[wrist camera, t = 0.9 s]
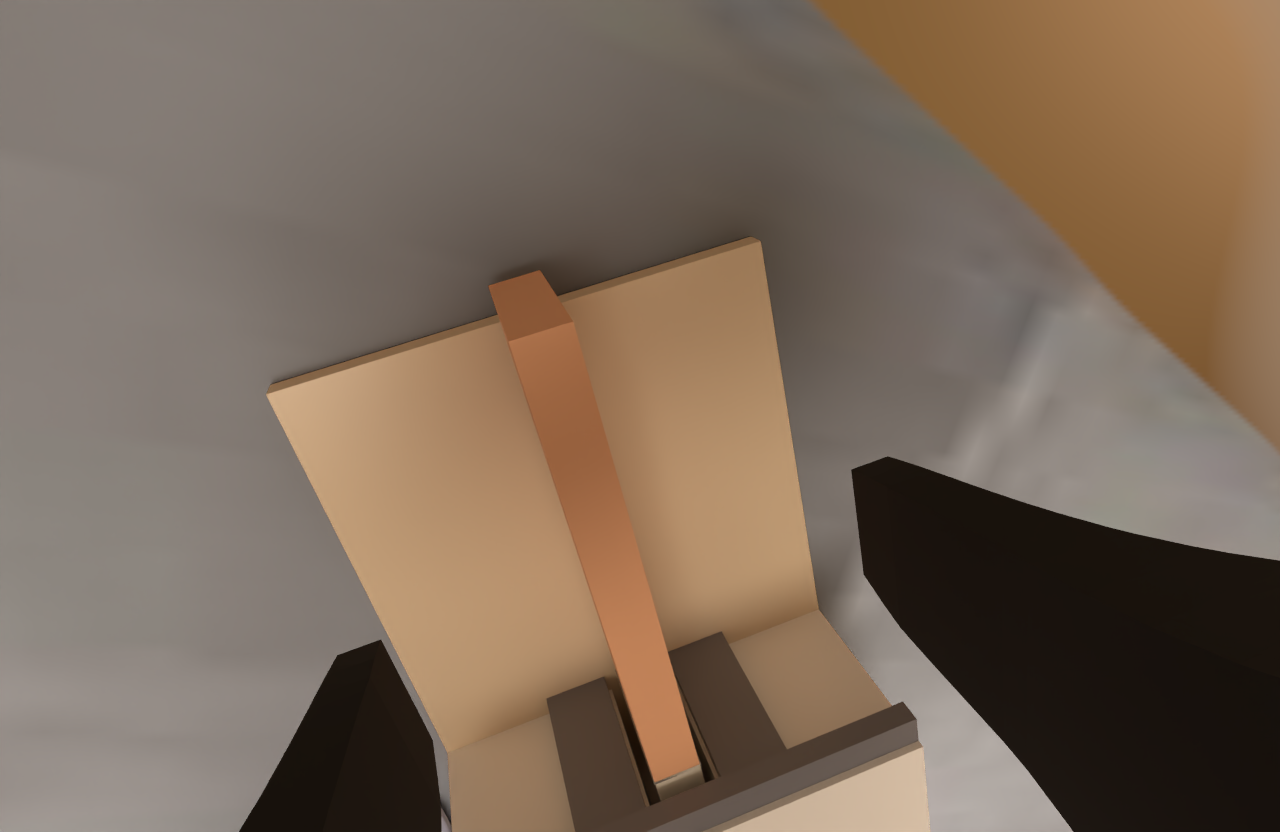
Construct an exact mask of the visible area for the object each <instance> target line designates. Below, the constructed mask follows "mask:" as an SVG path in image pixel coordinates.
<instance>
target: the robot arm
mask: <svg viewBox="0 0 1280 832" xmlns="http://www.w3.org/2000/svg"><path fill="white" fill-rule="evenodd" d="M851 471H852V479H853V488H854V496H855V505H856V513H857V521H858V530H859V538H860V547H861V555H862V564H863V572H864V576H865V577H866V579H867V580H868V582H869V583H870V584H871V586H872V587H873V589H874V590H875V592H876V593H877V595H878V596H879V598H880V599H881V601H882V602H883V604H884V605H885V607H886V608H887V609H888V611H889V612H890V614H891V615H892V616H893V618H894V619H895V621H896V622H897V623H898V625H899V626H900V628H901V629H902V630H903V631H904V632H905V633H906V634H907V636H908V637H909V638H910V639H911V640H912V641H913V642H914V644H915V645H916V646H917V647H918V648H919V649H920V650H921V651H922V652H923V654H924V655H925V656H926V657H927V658H928V659H929V660H930V661H931V662H932V664H933V665H934V666H935V667H936V668H937V669H938V670H939V671H940V672H941V674H942V675H943V676H944V677H945V678H946V679H947V680H948V681H949V682H950V683H951V684H952V686H953V687H954V688H955V689H956V690H957V691H958V692H959V693H960V694H961V695H962V697H963V698H964V699H965V700H966V701H967V702H968V703H969V704H970V705H971V706H972V708H973V709H974V710H975V711H976V712H977V713H978V714H979V715H980V716H981V717H982V719H983V720H984V721H985V722H986V723H987V724H988V725H989V726H990V727H991V728H992V729H993V731H994V732H995V733H996V734H997V735H998V736H999V737H1000V738H1001V739H1002V740H1003V742H1004V743H1005V744H1006V745H1007V746H1008V747H1009V749H1010V750H1011V751H1012V752H1013V753H1014V755H1015V756H1016V757H1017V758H1018V759H1019V761H1020V762H1021V763H1022V764H1023V765H1024V766H1025V768H1026V769H1027V770H1028V771H1029V773H1030V774H1031V775H1032V777H1033V778H1034V779H1035V781H1036V782H1037V783H1038V785H1039V786H1040V787H1041V789H1042V790H1043V791H1044V793H1045V794H1046V795H1047V797H1048V798H1049V799H1050V801H1051V802H1052V803H1053V805H1054V806H1055V807H1056V809H1057V810H1058V811H1059V813H1060V814H1061V815H1062V817H1063V818H1064V819H1065V821H1066V822H1067V823H1068V825H1069V826H1070V827H1071V829H1072V830H1073V831H1074V832H1280V561H1278V560H1271V559H1265V558H1258V557H1252V556H1245V555H1239V554H1232V553H1226V552H1221V551H1215V550H1210V549H1204V548H1199V547H1193V546H1188V545H1184V544H1179V543H1175V542H1170V541H1165V540H1161V539H1156V538H1152V537H1147V536H1142V535H1138V534H1133V533H1129V532H1125V531H1121V530H1117V529H1113V528H1109V527H1105V526H1102V525H1098V524H1095V523H1091V522H1088V521H1084V520H1080V519H1077V518H1073V517H1070V516H1066V515H1063V514H1059V513H1056V512H1053V511H1049V510H1046V509H1043V508H1040V507H1036V506H1033V505H1030V504H1027V503H1024V502H1021V501H1018V500H1015V499H1012V498H1009V497H1006V496H1003V495H1000V494H997V493H994V492H991V491H988V490H985V489H982V488H979V487H976V486H973V485H971V484H968V483H965V482H962V481H959V480H956V479H954V478H951V477H948V476H945V475H942V474H939V473H937V472H934V471H931V470H928V469H925V468H922V467H919V466H916V465H913V464H911V463H907V462H904V461H901V460H898V459H894V458H891V457H885V458H882V459H879V460H877V461H874V462H871V463H868V464H866V465H863V466H860V467H857V468H855V469H852V470H851ZM239 832H452V826H451V824H450V822H449V820H448V818H447V817H446V815H445V813H444V811H443V809H442V808H441V803H440V794H439V785H438V777H437V769H436V762H435V755H434V747H433V740H432V738H431V736H430V734H429V732H428V730H427V728H426V726H425V724H424V722H423V720H422V718H421V717H420V715H419V713H418V711H417V709H416V707H415V705H414V703H413V701H412V699H411V697H410V695H409V693H408V691H407V689H406V687H405V685H404V684H403V682H402V680H401V678H400V676H399V674H398V672H397V670H396V668H395V666H394V664H393V662H392V660H391V658H390V656H389V654H388V652H387V650H386V649H385V647H384V645H383V643H382V641H381V640H379V641H376V642H373V643H370V644H367V645H365V646H362V647H359V648H356V649H354V650H351V651H348V652H345V653H343V654H340V655H337V657H336V659H335V661H334V662H333V664H332V666H331V668H330V670H329V671H328V673H327V675H326V677H325V679H324V680H323V682H322V684H321V686H320V688H319V690H318V692H317V694H316V695H315V697H314V699H313V701H312V703H311V705H310V707H309V709H308V711H307V713H306V714H305V716H304V718H303V720H302V722H301V724H300V726H299V728H298V730H297V731H296V733H295V735H294V737H293V739H292V741H291V743H290V744H289V746H288V748H287V750H286V752H285V753H284V755H283V757H282V759H281V761H280V762H279V764H278V766H277V768H276V770H275V771H274V773H273V775H272V777H271V779H270V780H269V782H268V784H267V786H266V788H265V789H264V791H263V793H262V795H261V796H260V798H259V800H258V801H257V803H256V805H255V806H254V808H253V810H252V811H251V813H250V815H249V816H248V818H247V819H246V821H245V823H244V824H243V826H242V828H241V829H240V831H239Z"/></svg>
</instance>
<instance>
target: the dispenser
mask: <svg viewBox="0 0 1280 832" xmlns="http://www.w3.org/2000/svg"><path fill="white" fill-rule="evenodd" d="M557 297H558V299H559V300H560V302H561V303H562V305H563V306H564V308H565V309H566V311H567V313H568V314H569V316H570V317H571V319H572V320H573V322H574V326H575V329H576V333H577V336H578V340H579V343H580V347H581V350H582V354H583V357H584V361H585V364H586V368H587V371H588V375H589V378H590V382H591V385H592V389H593V392H594V396H595V399H596V403H597V406H598V410H599V413H600V417H601V420H602V424H603V427H604V431H605V434H606V438H607V441H608V445H609V448H610V452H611V455H612V459H613V462H614V466H615V469H616V473H617V476H618V480H619V483H620V487H621V490H622V494H623V497H624V501H625V504H626V508H627V511H628V515H629V518H630V522H631V525H632V529H633V532H634V536H635V539H636V543H637V546H638V550H639V553H640V557H641V560H642V564H643V567H644V571H645V574H646V578H647V581H648V585H649V588H650V592H651V595H652V599H653V602H654V606H655V609H656V613H657V616H658V619H659V623H660V626H661V630H662V633H663V637H664V640H665V644H666V647H667V651H668V654H669V658H670V661H671V665H672V668H673V672H674V675H675V679H676V682H677V686H678V689H679V693H680V696H681V700H682V703H683V707H684V710H685V714H686V717H687V721H688V724H689V728H690V731H691V735H692V738H693V742H694V745H695V749H696V752H697V755H698V757H699V760H700V762H701V770H702V773H703V777H704V780H705V783H704V784H702V785H699V786H697V787H694V788H692V789H690V790H687V791H685V792H682V793H680V794H678V795H675V796H673V797H670V798H668V799H665V800H663V801H661V802H660V801H659V798H658V795H657V792H656V789H655V786H654V783H653V780H652V777H651V774H650V771H649V768H648V765H647V762H646V759H645V757H644V754H643V751H642V748H641V745H640V742H639V739H638V736H637V733H636V730H635V727H634V724H633V721H632V719H631V716H630V713H629V710H628V707H627V704H626V701H625V698H624V695H623V692H622V689H621V686H620V683H619V681H618V678H617V675H616V672H615V669H616V668H615V665H614V662H613V659H612V656H611V653H610V650H609V647H608V644H607V641H606V638H605V635H604V632H603V629H602V626H601V623H600V620H599V617H598V614H597V611H596V608H595V605H594V602H593V599H592V596H591V593H590V590H589V587H588V584H587V581H586V578H585V575H584V572H583V569H582V566H581V563H580V560H579V557H578V554H577V551H576V548H575V545H574V542H573V539H572V536H571V533H570V530H569V527H568V524H567V521H566V518H565V515H564V512H563V509H562V506H561V503H560V500H559V497H558V494H557V491H556V488H555V485H554V482H553V479H552V476H551V473H550V470H549V467H548V464H547V461H546V458H545V455H544V452H543V449H542V446H541V443H540V440H539V437H538V434H537V431H536V428H535V425H534V422H533V419H532V416H531V413H530V410H529V407H528V404H527V401H526V398H525V395H524V392H523V389H522V386H521V383H520V380H519V377H518V374H517V371H516V368H515V365H514V362H513V359H512V356H511V353H510V350H509V347H508V344H507V341H506V338H505V335H504V332H503V329H502V326H501V323H500V320H499V317H498V315H495V316H492V317H488V318H485V319H482V320H479V321H475V322H472V323H469V324H466V325H462V326H459V327H456V328H453V329H450V330H446V331H443V332H440V333H437V334H433V335H430V336H427V337H424V338H420V339H417V340H414V341H411V342H407V343H404V344H401V345H398V346H394V347H391V348H388V349H385V350H381V351H378V352H375V353H372V354H369V355H365V356H362V357H359V358H356V359H352V360H349V361H346V362H343V363H339V364H336V365H333V366H330V367H326V368H323V369H320V370H317V371H313V372H310V373H307V374H304V375H301V376H297V377H294V378H291V379H288V380H284V381H281V382H278V383H275V384H271V385H270V387H269V389H268V391H267V394H266V395H267V397H268V399H269V401H270V403H271V405H272V407H273V409H274V411H275V413H276V415H277V417H278V419H279V421H280V423H281V425H282V427H283V429H284V431H285V433H286V435H287V437H288V439H289V441H290V443H291V445H292V447H293V449H294V451H295V453H296V455H297V457H298V459H299V461H300V463H301V464H302V466H303V468H304V470H305V472H306V474H307V476H308V478H309V480H310V482H311V484H312V486H313V488H314V490H315V492H316V494H317V496H318V498H319V500H320V502H321V504H322V506H323V508H324V510H325V512H326V514H327V516H328V518H329V520H330V522H331V524H332V526H333V528H334V530H335V532H336V534H337V536H338V538H339V539H340V541H341V543H342V545H343V547H344V549H345V551H346V553H347V555H348V557H349V559H350V561H351V563H352V565H353V567H354V569H355V571H356V573H357V575H358V577H359V579H360V581H361V583H362V585H363V587H364V589H365V591H366V593H367V595H368V597H369V599H370V601H371V603H372V605H373V607H374V609H375V611H376V613H377V614H378V616H379V618H380V620H381V622H382V624H383V626H384V628H385V630H386V632H387V634H388V636H389V638H390V640H391V642H392V644H393V646H394V648H395V650H396V652H397V654H398V656H399V658H400V660H401V662H402V664H403V666H404V668H405V670H406V672H407V674H408V676H409V678H410V680H411V682H412V684H413V686H414V688H415V690H416V691H417V693H418V695H419V697H420V699H421V701H422V703H423V705H424V707H425V709H426V711H427V713H428V715H429V717H430V719H431V721H432V723H433V725H434V727H435V729H436V731H437V733H438V735H439V737H440V739H441V741H442V743H443V745H444V747H445V749H446V751H447V753H448V769H449V787H450V805H451V823H452V832H930V823H929V811H928V800H927V788H926V776H925V764H924V752H923V746H922V745H921V743H920V742H919V741H918V731H917V719H916V718H915V717H914V715H913V714H912V713H911V711H910V710H909V709H908V708H907V706H906V705H905V704H904V702H901V703H898V704H896V705H893V706H892V705H891V704H890V703H889V701H888V700H887V699H886V697H885V696H884V695H883V693H882V692H881V691H880V689H879V688H878V687H877V685H876V684H875V683H874V682H873V680H872V679H871V678H870V676H869V675H868V674H867V672H866V671H865V670H864V668H863V667H862V666H861V664H860V663H859V662H858V660H857V659H856V658H855V656H854V655H853V654H852V652H851V651H850V650H849V649H848V647H847V646H846V645H845V643H844V642H843V641H842V639H841V638H840V637H839V635H838V634H837V633H836V631H835V630H834V629H833V627H832V626H831V625H830V623H829V622H828V621H827V620H826V618H825V617H824V616H823V614H822V613H821V612H820V610H819V608H818V602H817V595H816V589H815V582H814V576H813V570H812V563H811V557H810V551H809V544H808V538H807V532H806V525H805V519H804V513H803V506H802V500H801V494H800V487H799V481H798V475H797V468H796V462H795V456H794V449H793V443H792V437H791V430H790V424H789V418H788V411H787V405H786V399H785V392H784V386H783V379H782V373H781V367H780V360H779V354H778V348H777V341H776V335H775V329H774V322H773V316H772V310H771V303H770V297H769V291H768V284H767V278H766V272H765V265H764V259H763V253H762V246H761V241H760V240H757V239H755V238H753V237H747V238H744V239H741V240H738V241H735V242H731V243H728V244H725V245H722V246H718V247H715V248H712V249H709V250H705V251H702V252H699V253H696V254H692V255H689V256H686V257H683V258H679V259H676V260H673V261H670V262H667V263H663V264H660V265H657V266H654V267H650V268H647V269H644V270H641V271H637V272H634V273H631V274H628V275H624V276H621V277H618V278H615V279H611V280H608V281H605V282H602V283H598V284H595V285H592V286H589V287H586V288H582V289H579V290H576V291H573V292H569V293H566V294H563V295H560V296H557Z"/></svg>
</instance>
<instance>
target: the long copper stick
mask: <svg viewBox="0 0 1280 832" xmlns="http://www.w3.org/2000/svg"><path fill="white" fill-rule="evenodd" d="M488 287H489V290H490V293H491V296H492V299H493V302H494V305H495V308H496V311H497V314H498V317H499V320H500V323H501V326H502V329H503V332H504V335H505V338H506V341H507V344H508V347H509V350H510V353H511V356H512V359H513V362H514V365H515V368H516V371H517V374H518V377H519V380H520V383H521V386H522V389H523V392H524V395H525V398H526V401H527V404H528V407H529V410H530V413H531V416H532V419H533V422H534V425H535V428H536V431H537V434H538V437H539V440H540V443H541V446H542V449H543V452H544V455H545V458H546V461H547V464H548V467H549V470H550V473H551V476H552V479H553V482H554V485H555V488H556V491H557V494H558V497H559V500H560V503H561V506H562V509H563V512H564V515H565V518H566V521H567V524H568V527H569V530H570V533H571V536H572V539H573V542H574V545H575V548H576V551H577V554H578V557H579V560H580V563H581V566H582V569H583V572H584V575H585V578H586V581H587V584H588V587H589V590H590V593H591V596H592V599H593V602H594V605H595V608H596V611H597V614H598V617H599V620H600V623H601V626H602V629H603V632H604V635H605V638H606V641H607V644H608V647H609V650H610V653H611V656H612V659H613V662H614V665H615V668H616V669H615V672H616V675H617V678H618V681H619V683H620V686H621V689H622V692H623V695H624V698H625V701H626V704H627V707H628V710H629V713H630V716H631V719H632V721H633V724H634V727H635V730H636V733H637V736H638V739H639V742H640V745H641V748H642V751H643V754H644V757H645V759H646V762H647V765H648V768H649V771H650V774H651V777H652V780H653V783H654V786H655V789H656V792H657V795H658V798H659V801H660V802H661V801H663V800H665V799H668V798H670V797H673V796H675V795H678V794H680V793H682V792H685V791H687V790H690V789H692V788H694V787H697V786H699V785H702V784H704V783H705V780H704V777H703V773H702V770H701V762H700V760H699V757H698V755H697V752H696V749H695V745H694V742H693V738H692V735H691V731H690V728H689V724H688V721H687V717H686V714H685V710H684V707H683V703H682V700H681V696H680V693H679V689H678V686H677V682H676V679H675V675H674V672H673V668H672V665H671V661H670V658H669V654H668V651H667V647H666V644H665V640H664V637H663V633H662V630H661V626H660V623H659V619H658V616H657V613H656V609H655V606H654V602H653V599H652V595H651V592H650V588H649V585H648V581H647V578H646V574H645V571H644V567H643V564H642V560H641V557H640V553H639V550H638V546H637V543H636V539H635V536H634V532H633V529H632V525H631V522H630V518H629V515H628V511H627V508H626V504H625V501H624V497H623V494H622V490H621V487H620V483H619V480H618V476H617V473H616V469H615V466H614V462H613V459H612V455H611V452H610V448H609V445H608V441H607V438H606V434H605V431H604V427H603V424H602V420H601V417H600V413H599V410H598V406H597V403H596V399H595V396H594V392H593V389H592V385H591V382H590V378H589V375H588V371H587V368H586V364H585V361H584V357H583V354H582V350H581V347H580V343H579V340H578V336H577V333H576V329H575V326H574V322H573V320H572V319H571V317H570V316H569V314H568V313H567V311H566V309H565V308H564V306H563V305H562V303H561V302H560V300H559V299H558V297H557V296H556V294H555V293H554V291H553V289H552V288H551V286H550V285H549V283H548V282H547V280H546V279H545V277H544V276H543V274H542V273H541V271H540V270H538V271H535V272H532V273H528V274H525V275H522V276H519V277H515V278H512V279H509V280H505V281H502V282H499V283H495V284H492V285H489V286H488Z"/></svg>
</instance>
